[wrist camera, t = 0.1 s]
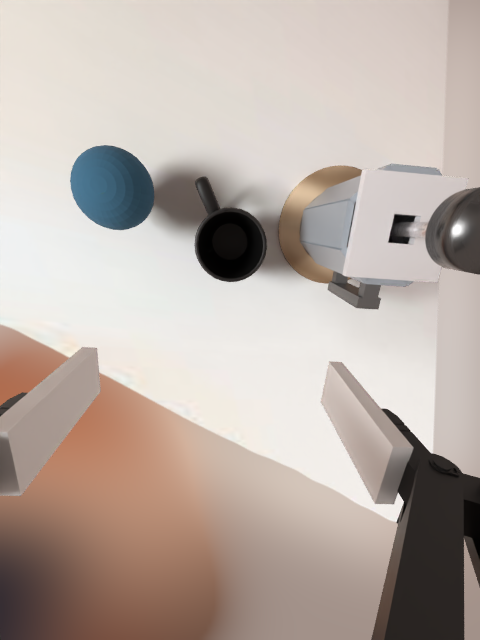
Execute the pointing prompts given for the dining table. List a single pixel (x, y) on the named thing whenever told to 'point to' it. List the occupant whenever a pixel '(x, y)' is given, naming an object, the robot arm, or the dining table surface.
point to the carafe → (375, 229)
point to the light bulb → (112, 187)
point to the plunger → (446, 231)
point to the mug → (228, 239)
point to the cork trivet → (293, 216)
